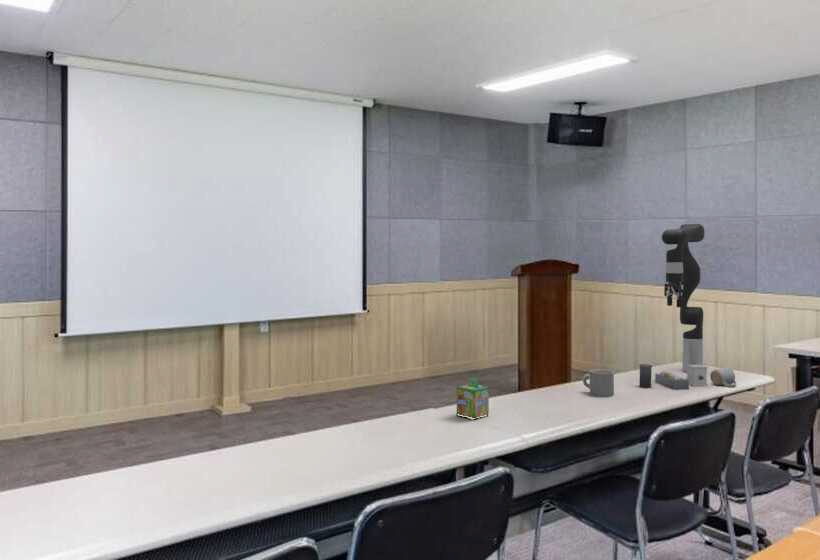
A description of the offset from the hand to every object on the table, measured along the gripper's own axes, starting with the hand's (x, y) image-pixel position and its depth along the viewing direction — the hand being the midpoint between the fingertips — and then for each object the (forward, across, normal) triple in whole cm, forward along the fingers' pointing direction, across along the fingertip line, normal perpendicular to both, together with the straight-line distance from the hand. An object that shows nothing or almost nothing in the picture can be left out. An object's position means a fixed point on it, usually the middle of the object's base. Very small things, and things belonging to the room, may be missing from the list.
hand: (674, 306), depth 295 cm
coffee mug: (+36, +16, -44) cm, 59 cm away
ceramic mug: (+36, +10, +19) cm, 42 cm away
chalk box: (+36, +44, -106) cm, 120 cm away
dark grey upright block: (+36, +7, -18) cm, 41 cm away
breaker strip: (+36, +7, -5) cm, 37 cm away
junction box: (+36, +7, +7) cm, 37 cm away
